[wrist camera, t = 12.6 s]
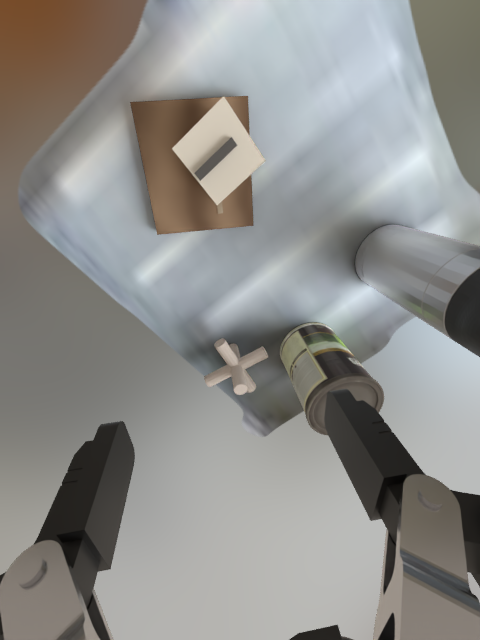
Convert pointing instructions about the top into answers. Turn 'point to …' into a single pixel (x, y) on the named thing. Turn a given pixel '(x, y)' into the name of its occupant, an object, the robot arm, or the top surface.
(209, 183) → the cream rectangular block
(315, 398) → the coffee can
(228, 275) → the top surface
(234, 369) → the pipe connector
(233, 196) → the board
